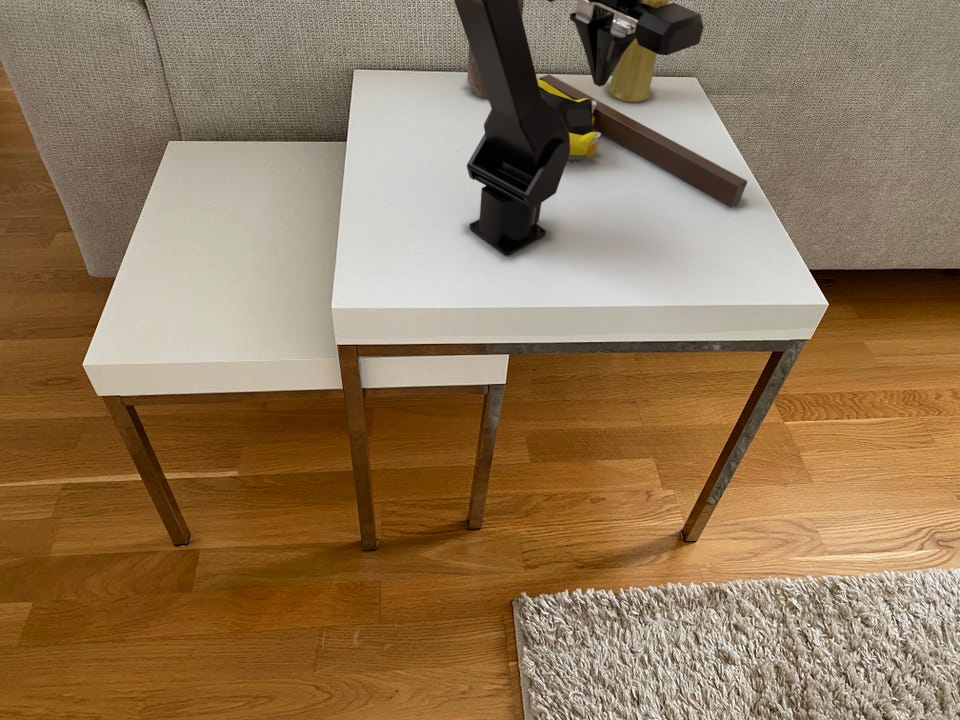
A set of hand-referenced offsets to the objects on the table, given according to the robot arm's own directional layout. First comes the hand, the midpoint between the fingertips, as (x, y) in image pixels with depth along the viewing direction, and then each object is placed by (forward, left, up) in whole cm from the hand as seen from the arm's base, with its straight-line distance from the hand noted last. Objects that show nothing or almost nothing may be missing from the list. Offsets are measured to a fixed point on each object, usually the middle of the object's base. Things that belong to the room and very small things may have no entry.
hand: (599, 84), depth 79 cm
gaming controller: (+5, +9, -13) cm, 16 cm away
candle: (+8, +25, -13) cm, 29 cm away
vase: (+24, +12, -13) cm, 30 cm away
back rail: (+12, +2, -13) cm, 18 cm away
